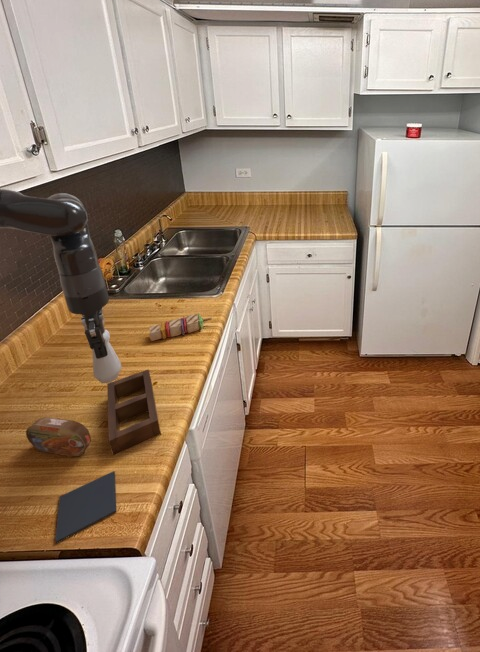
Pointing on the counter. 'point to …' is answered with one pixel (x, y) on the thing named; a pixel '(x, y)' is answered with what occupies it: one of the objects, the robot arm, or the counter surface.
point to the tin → (59, 436)
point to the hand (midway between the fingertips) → (102, 349)
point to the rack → (131, 412)
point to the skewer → (177, 327)
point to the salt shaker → (106, 363)
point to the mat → (86, 506)
